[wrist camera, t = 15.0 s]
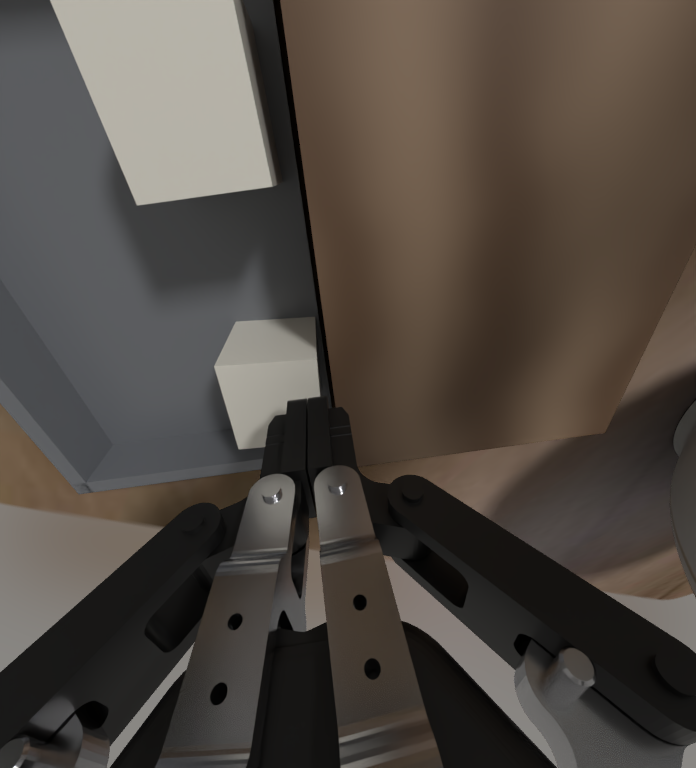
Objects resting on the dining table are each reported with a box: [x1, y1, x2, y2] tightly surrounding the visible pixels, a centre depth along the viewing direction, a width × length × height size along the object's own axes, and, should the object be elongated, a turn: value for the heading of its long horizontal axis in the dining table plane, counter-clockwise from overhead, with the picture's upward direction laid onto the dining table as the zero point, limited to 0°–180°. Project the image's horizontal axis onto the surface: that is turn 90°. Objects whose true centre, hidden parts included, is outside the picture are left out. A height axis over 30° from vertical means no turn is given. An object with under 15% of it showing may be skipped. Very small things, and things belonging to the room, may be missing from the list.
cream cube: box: [50, 0, 283, 206], centre depth 10 cm, size 4×4×4 cm
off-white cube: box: [214, 317, 322, 449], centre depth 16 cm, size 4×4×4 cm
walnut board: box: [280, 0, 696, 467], centre depth 13 cm, size 14×20×5 cm
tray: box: [0, 0, 332, 494], centre depth 14 cm, size 14×22×4 cm, turn 5°
